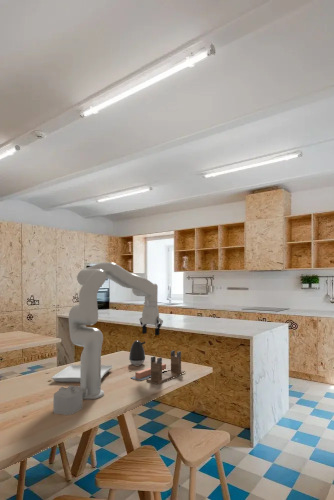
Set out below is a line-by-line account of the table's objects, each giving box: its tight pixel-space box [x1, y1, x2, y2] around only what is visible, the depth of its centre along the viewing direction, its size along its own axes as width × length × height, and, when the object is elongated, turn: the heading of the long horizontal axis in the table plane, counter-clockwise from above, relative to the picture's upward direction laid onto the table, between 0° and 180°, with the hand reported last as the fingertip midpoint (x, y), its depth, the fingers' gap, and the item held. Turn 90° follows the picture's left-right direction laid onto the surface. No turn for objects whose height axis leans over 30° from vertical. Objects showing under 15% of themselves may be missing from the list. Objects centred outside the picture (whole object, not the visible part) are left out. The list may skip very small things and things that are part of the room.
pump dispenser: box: [128, 340, 146, 366], centre depth 217 cm, size 10×10×15 cm
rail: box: [134, 362, 167, 379], centre depth 195 cm, size 24×3×3 cm, turn 143°
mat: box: [130, 375, 151, 382], centre depth 195 cm, size 27×8×1 cm, turn 143°
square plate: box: [51, 364, 114, 383], centre depth 191 cm, size 27×27×4 cm
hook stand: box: [146, 350, 186, 385], centre depth 189 cm, size 25×8×13 cm, turn 143°
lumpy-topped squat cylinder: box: [52, 385, 83, 416], centre depth 145 cm, size 10×13×9 cm
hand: (150, 334), depth 197 cm, fingers open, 9 cm apart
